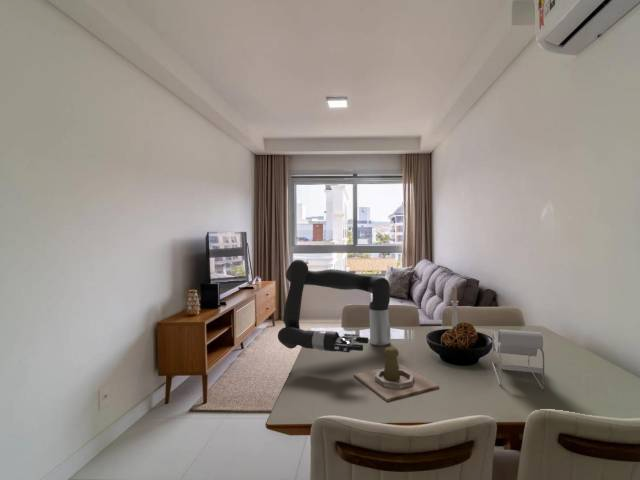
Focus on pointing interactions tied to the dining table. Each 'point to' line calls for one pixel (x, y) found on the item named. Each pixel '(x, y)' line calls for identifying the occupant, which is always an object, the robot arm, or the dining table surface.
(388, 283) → the robot arm
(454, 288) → the candlestick
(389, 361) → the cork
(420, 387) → the collar holder
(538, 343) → the chair
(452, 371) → the dining table surface
